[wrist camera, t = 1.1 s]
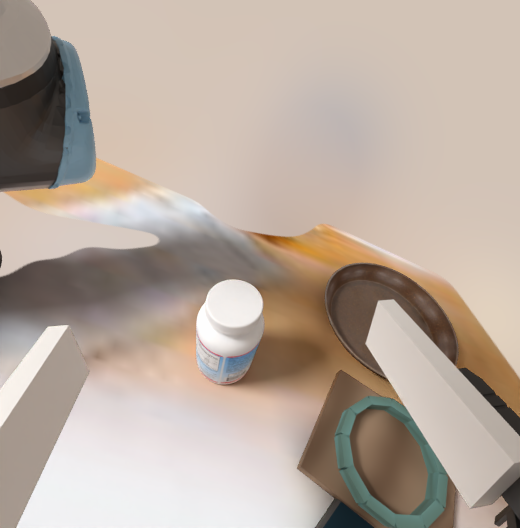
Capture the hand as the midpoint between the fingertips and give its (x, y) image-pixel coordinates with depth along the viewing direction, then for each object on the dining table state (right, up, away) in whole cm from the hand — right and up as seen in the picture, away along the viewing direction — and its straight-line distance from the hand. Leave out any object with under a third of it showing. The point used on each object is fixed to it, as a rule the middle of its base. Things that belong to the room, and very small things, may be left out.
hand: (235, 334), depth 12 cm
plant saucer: (+17, -5, +25) cm, 31 cm away
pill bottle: (-3, -7, +18) cm, 20 cm away
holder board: (+13, -16, +14) cm, 25 cm away
